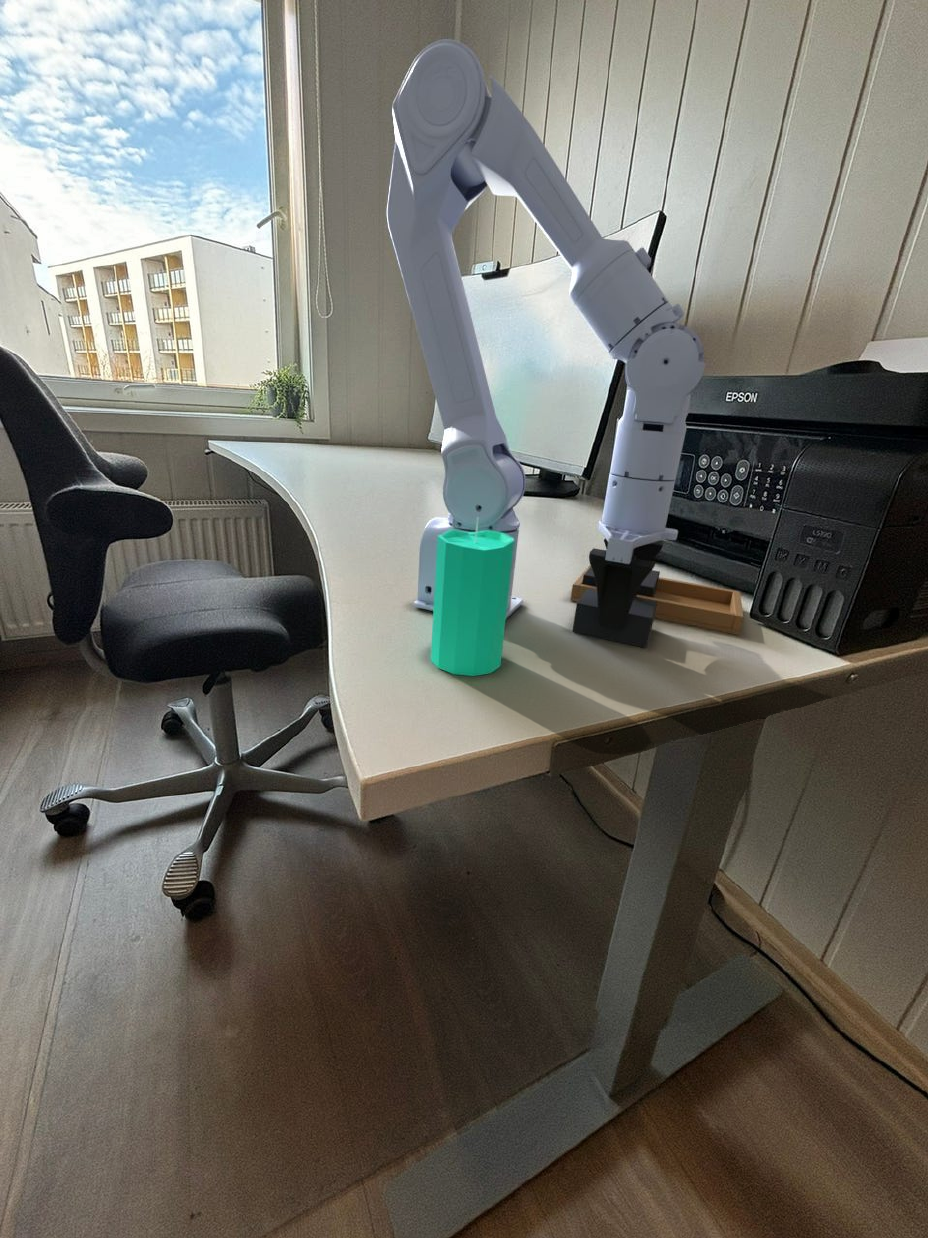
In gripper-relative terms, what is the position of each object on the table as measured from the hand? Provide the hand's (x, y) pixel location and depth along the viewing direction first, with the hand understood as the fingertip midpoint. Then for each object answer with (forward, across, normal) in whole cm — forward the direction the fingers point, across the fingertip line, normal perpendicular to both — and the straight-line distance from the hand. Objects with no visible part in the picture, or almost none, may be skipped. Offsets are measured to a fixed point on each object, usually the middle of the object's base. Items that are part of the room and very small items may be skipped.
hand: (615, 617), depth 54 cm
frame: (+1, +11, -3) cm, 11 cm away
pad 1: (+1, +11, +1) cm, 11 cm away
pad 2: (+1, 0, 0) cm, 1 cm away
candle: (+2, -14, +10) cm, 17 cm away
